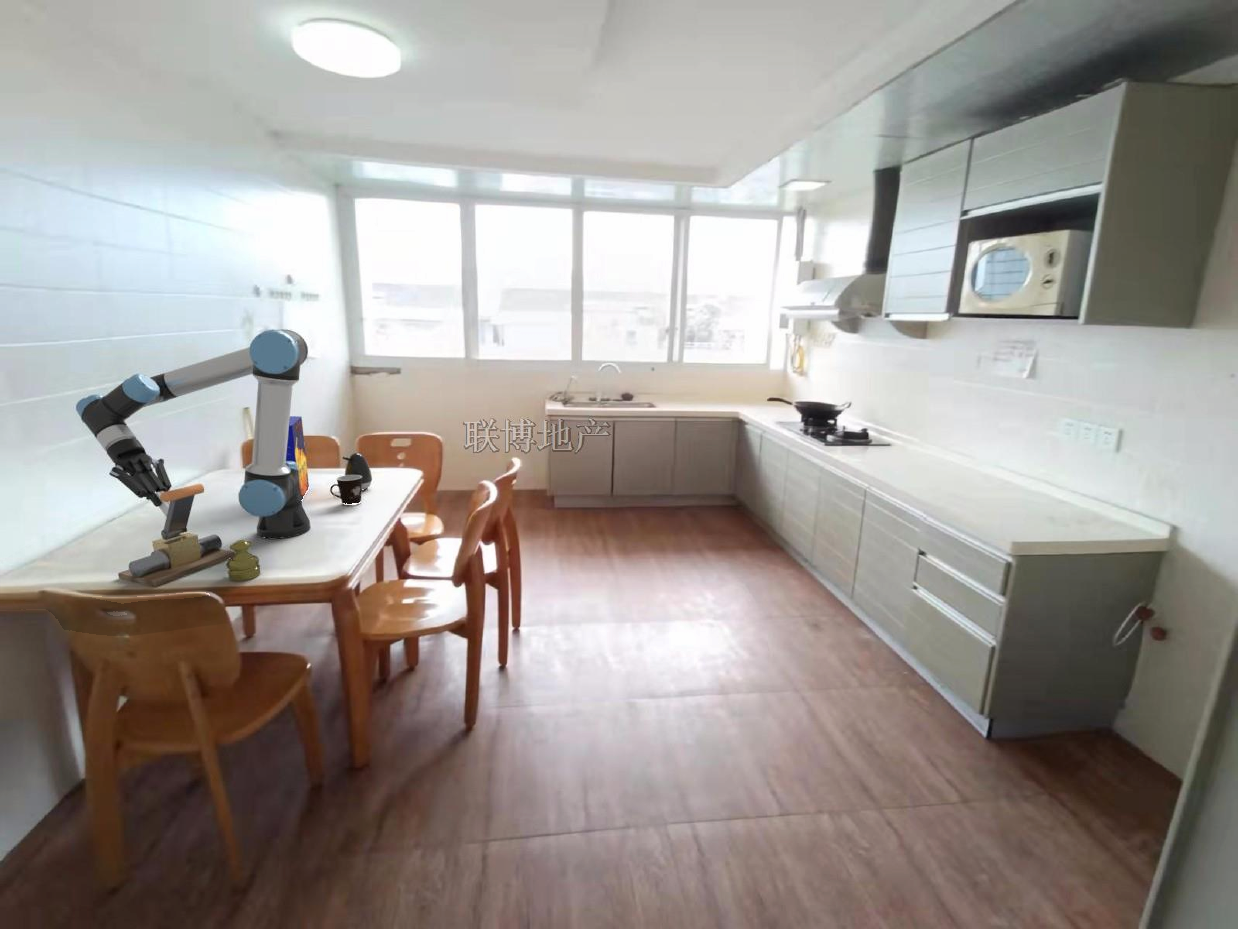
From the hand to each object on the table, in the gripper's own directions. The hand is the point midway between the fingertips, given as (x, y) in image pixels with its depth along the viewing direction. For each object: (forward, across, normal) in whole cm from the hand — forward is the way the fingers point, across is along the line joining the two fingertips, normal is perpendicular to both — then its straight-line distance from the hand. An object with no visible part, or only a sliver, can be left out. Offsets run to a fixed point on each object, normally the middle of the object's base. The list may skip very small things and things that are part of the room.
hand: (171, 513), depth 161 cm
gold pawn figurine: (+26, -4, +4) cm, 26 cm away
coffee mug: (+8, -64, -13) cm, 66 cm away
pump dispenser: (+1, -81, -21) cm, 84 cm away
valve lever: (+4, 0, -6) cm, 7 cm away
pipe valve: (+11, -1, -12) cm, 16 cm away
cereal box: (-8, -63, -31) cm, 71 cm away
